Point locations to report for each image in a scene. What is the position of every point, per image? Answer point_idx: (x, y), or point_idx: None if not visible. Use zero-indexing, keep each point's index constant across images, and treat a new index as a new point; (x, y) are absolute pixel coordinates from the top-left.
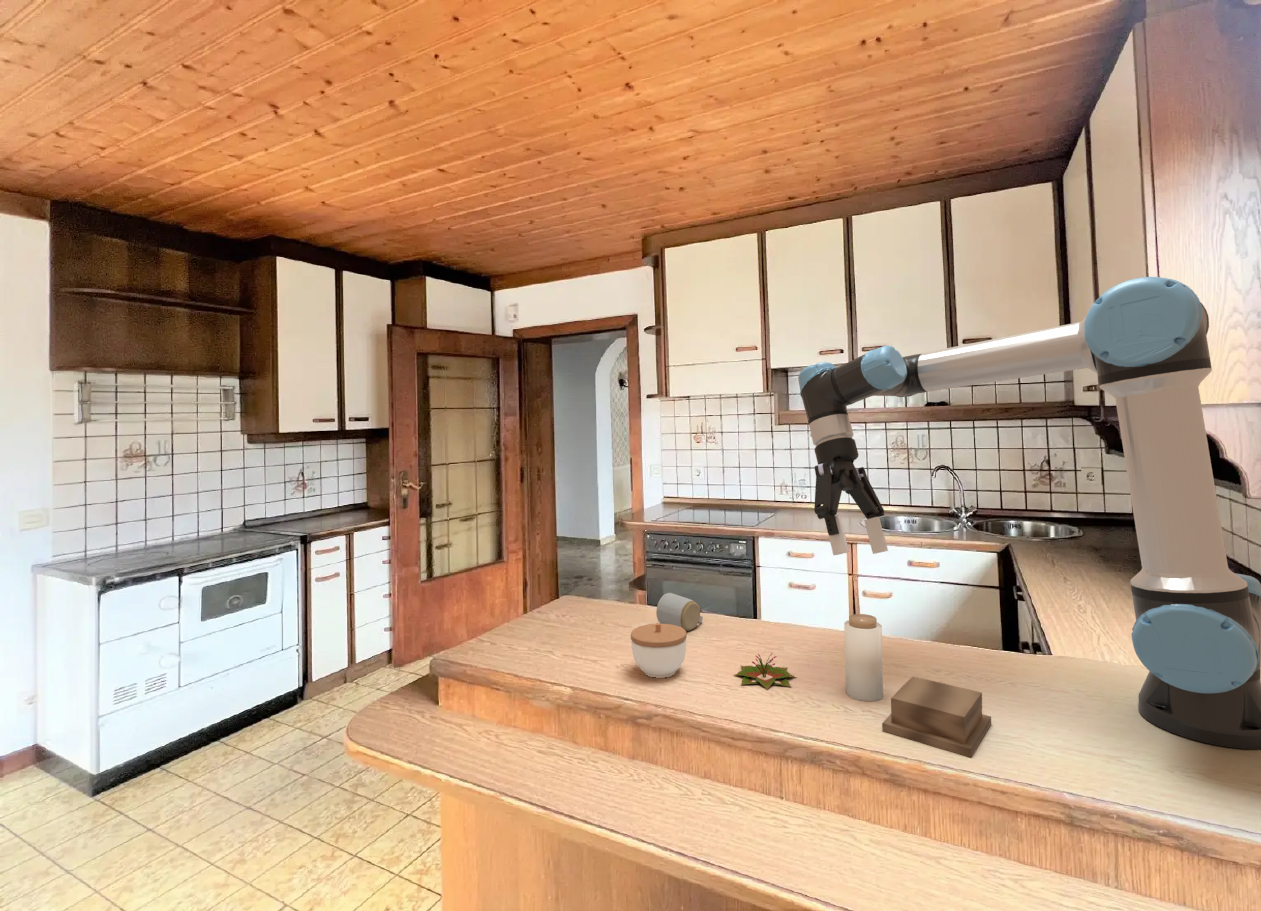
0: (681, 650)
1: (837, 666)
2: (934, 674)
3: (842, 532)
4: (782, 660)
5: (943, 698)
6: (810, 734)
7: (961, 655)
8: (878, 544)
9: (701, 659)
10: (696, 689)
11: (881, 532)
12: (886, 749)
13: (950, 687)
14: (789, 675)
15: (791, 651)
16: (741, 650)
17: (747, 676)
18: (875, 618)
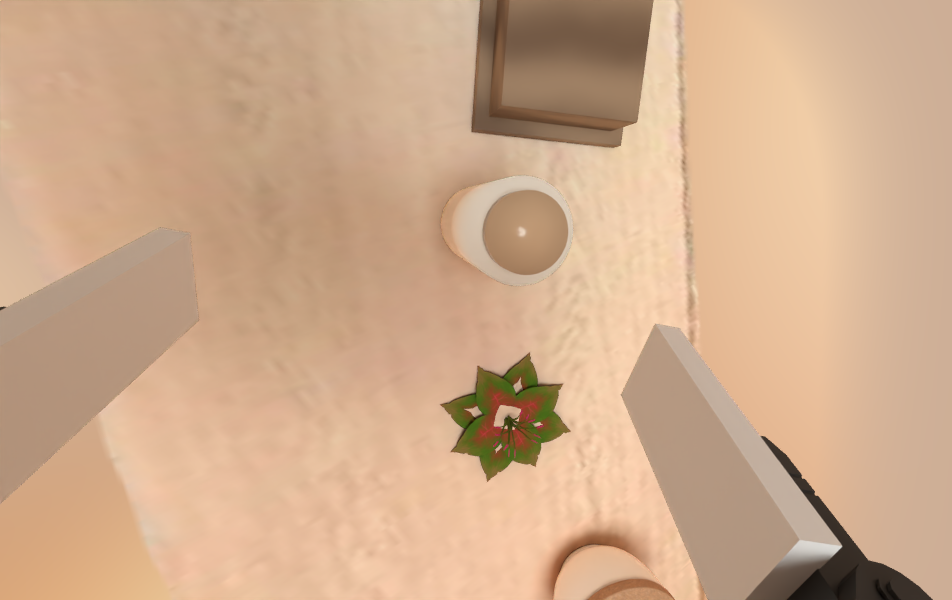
0: (617, 566)
1: (366, 323)
2: (271, 110)
3: (736, 411)
4: (405, 433)
5: (589, 17)
6: (678, 248)
7: (58, 64)
8: (159, 297)
9: (495, 555)
10: (620, 478)
11: (80, 294)
12: (669, 124)
13: (522, 10)
14: (481, 381)
15: (339, 444)
16: (403, 528)
17: (539, 438)
18: (514, 196)
